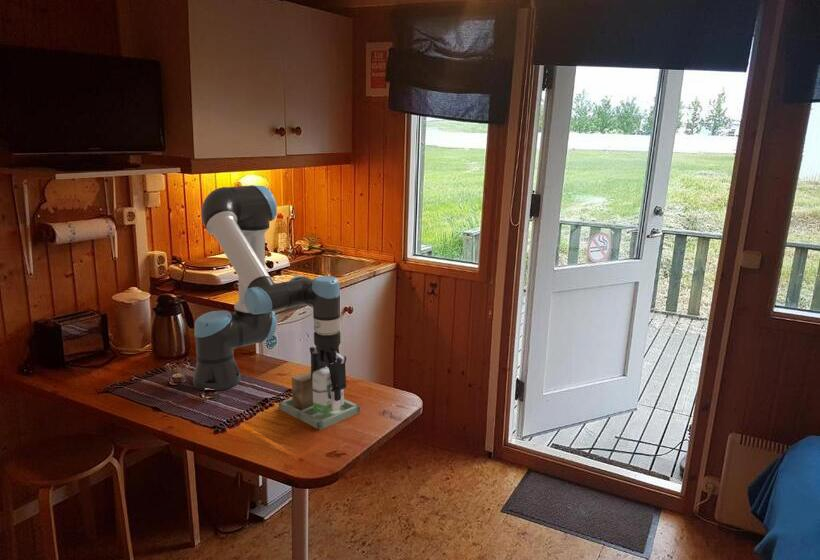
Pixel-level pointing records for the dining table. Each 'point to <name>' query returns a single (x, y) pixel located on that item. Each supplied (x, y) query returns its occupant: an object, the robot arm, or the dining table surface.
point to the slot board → (318, 418)
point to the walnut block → (302, 391)
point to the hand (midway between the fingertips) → (328, 406)
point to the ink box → (323, 391)
